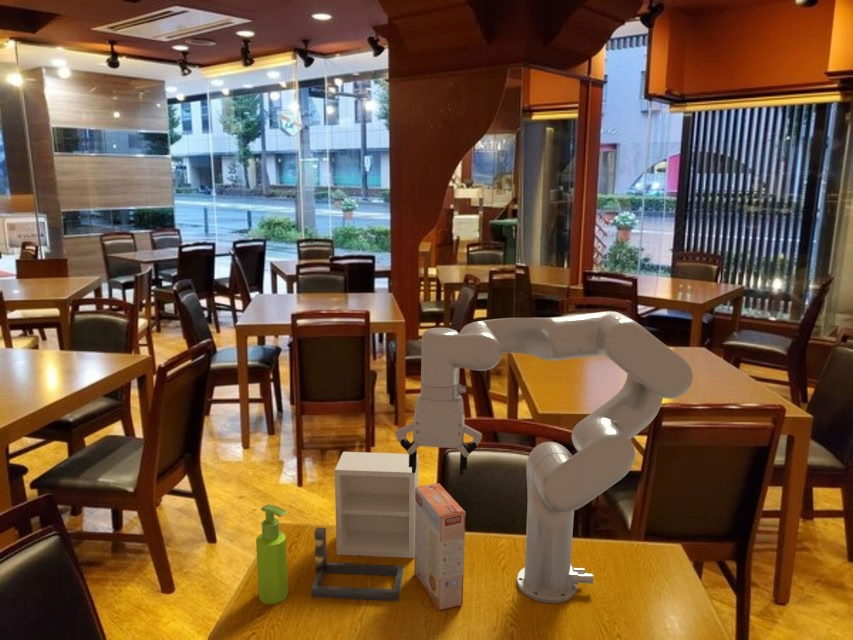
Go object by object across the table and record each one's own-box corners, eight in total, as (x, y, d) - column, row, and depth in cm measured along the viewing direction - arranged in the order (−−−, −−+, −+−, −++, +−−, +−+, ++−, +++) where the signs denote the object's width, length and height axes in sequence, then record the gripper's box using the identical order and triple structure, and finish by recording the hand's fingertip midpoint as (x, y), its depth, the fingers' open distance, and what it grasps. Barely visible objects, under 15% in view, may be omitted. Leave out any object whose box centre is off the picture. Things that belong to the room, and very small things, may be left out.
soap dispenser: (278, 609, 128) (274, 518, 124) (252, 598, 131) (248, 509, 127) (297, 593, 133) (294, 505, 129) (272, 583, 136) (268, 497, 132)
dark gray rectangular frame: (403, 572, 141) (403, 531, 139) (398, 601, 131) (398, 557, 129) (318, 568, 142) (316, 527, 140) (306, 596, 132) (305, 553, 130)
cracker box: (465, 605, 130) (467, 511, 125) (437, 612, 127) (438, 516, 123) (439, 567, 142) (440, 481, 138) (413, 573, 140) (413, 485, 136)
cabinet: (417, 534, 156) (418, 454, 152) (414, 558, 146) (414, 472, 142) (345, 531, 157) (343, 451, 153) (336, 554, 147) (334, 469, 143)
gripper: (483, 386, 129) (480, 465, 133) (398, 383, 130) (397, 461, 134) (484, 398, 122) (480, 482, 125) (393, 395, 123) (393, 477, 126)
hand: (437, 471), depth 129 cm, fingers open, 9 cm apart
